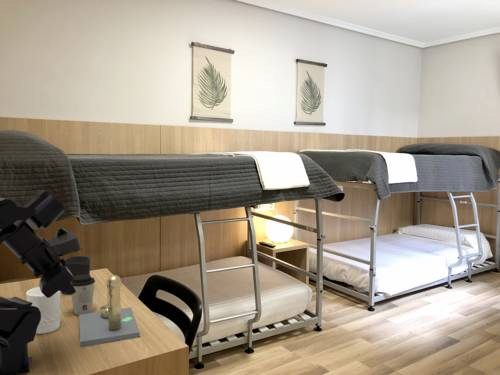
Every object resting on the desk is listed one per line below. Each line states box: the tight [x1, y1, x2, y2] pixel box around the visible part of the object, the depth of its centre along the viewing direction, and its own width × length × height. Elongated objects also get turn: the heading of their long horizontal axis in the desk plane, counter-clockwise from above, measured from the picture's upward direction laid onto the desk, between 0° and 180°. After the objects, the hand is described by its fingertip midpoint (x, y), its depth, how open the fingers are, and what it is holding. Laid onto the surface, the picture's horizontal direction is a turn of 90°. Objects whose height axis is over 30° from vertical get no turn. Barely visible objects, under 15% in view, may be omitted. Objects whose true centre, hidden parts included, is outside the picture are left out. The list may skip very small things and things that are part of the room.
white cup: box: [25, 286, 62, 335], centre depth 107 cm, size 8×8×10 cm
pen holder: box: [61, 255, 91, 295], centre depth 136 cm, size 9×9×10 cm
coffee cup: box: [70, 274, 96, 316], centre depth 118 cm, size 7×7×10 cm
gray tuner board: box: [78, 307, 141, 348], centre depth 108 cm, size 17×14×1 cm
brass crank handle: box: [100, 274, 122, 330], centre depth 108 cm, size 13×4×13 cm, turn 26°
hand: (73, 292), depth 97 cm, fingers closed
